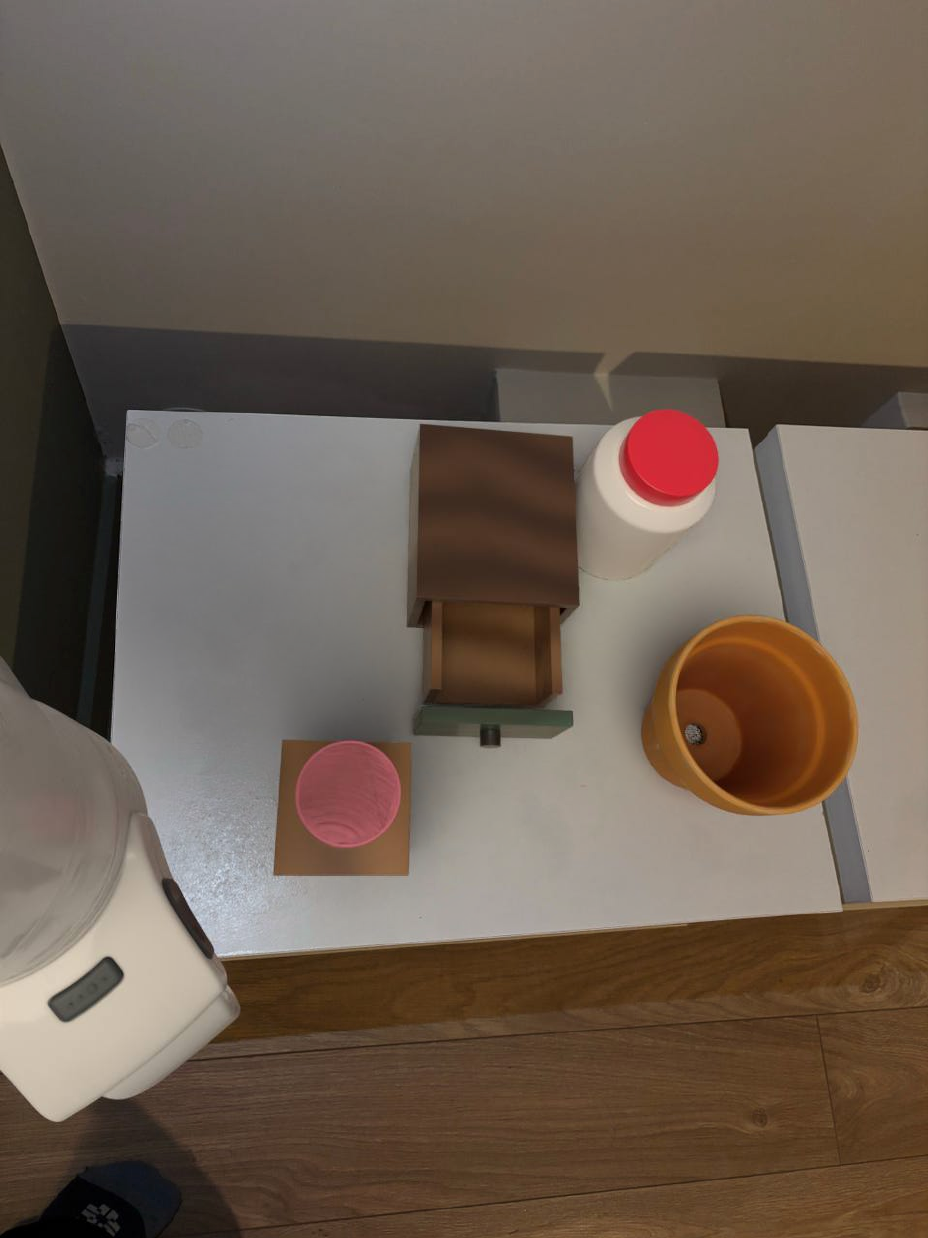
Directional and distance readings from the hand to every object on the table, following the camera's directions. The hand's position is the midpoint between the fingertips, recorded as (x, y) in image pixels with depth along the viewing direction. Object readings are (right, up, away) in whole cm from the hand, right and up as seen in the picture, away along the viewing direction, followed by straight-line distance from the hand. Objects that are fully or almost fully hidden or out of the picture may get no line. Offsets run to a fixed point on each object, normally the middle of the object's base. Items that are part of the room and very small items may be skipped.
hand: (106, 847), depth 40 cm
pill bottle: (+31, +20, +34) cm, 50 cm away
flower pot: (+37, +1, +29) cm, 47 cm away
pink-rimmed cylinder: (+10, 0, +9) cm, 14 cm away
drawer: (+19, +8, +27) cm, 34 cm away
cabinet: (+19, +17, +31) cm, 40 cm away
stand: (+8, -4, +22) cm, 24 cm away
